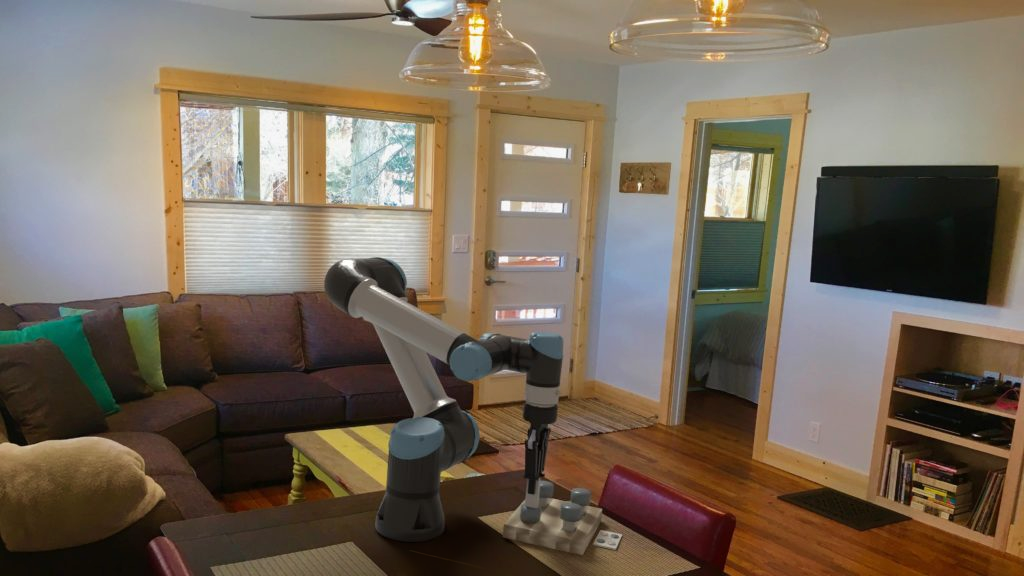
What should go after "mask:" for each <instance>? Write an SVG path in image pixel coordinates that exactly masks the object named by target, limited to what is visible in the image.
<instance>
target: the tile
mask: <svg viewBox="0 0 1024 576" xmlns="http://www.w3.org/2000/svg"><path fill="white" fill-rule="evenodd" d="M622 537H623V534H621V533H618V532H612V531H608V530H603V529H600V530H599V532H598V534H597V535H596V538H595V539H594V541H593V544H592V546H595V547H600V548H604V549H608V550H613V551H616V550H617V549H618V546H619V544H620V542H621V540H622Z"/></svg>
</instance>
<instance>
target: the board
mask: <svg viewBox="0 0 1024 576" xmlns="http://www.w3.org/2000/svg"><path fill="white" fill-rule="evenodd" d="M524 503H525V499H524V500H523V501H522V502H521V503H520V505H519V506H518V507H517V508H516V509H515V511H514V512H513V513H512V514H511V515H509V517H508V518H507V520H506V521H505V522H504V523H503V529H502V538H504V539H509V540H513V541H518V542H523V543H526V544H531V545H536V546H540V547H544V548H549V549H552V550H557V551H562V552H566V553H571V554H575V555H580V556H584V554H585V553H586V550H587V549H588V546H589V544H590V543H591V541H592V539H593V537H594V535H595V533H596V531H597V529H598V527H599V526H600V524H601V522H602V518H603V517H602V516H603V508H601V507H594V506H590V505H588V506H586V510H585V515H584V516H581V519H580V521H578V522H576V529H575V532H569V531H564V530H562V529H563V520H562V519H561V518H560V508H561V504H563V503H571V502H570V501H565V500H561V499H557V498H556V499H555V498H553V497H551V498H549V501H548V507H547V508H543V507H541V518H540V520H539V521H537V522H536V523H535V524H532V523H528V522H523V520H522V519H521V518H520V510H521V505H522V504H524Z"/></svg>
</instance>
